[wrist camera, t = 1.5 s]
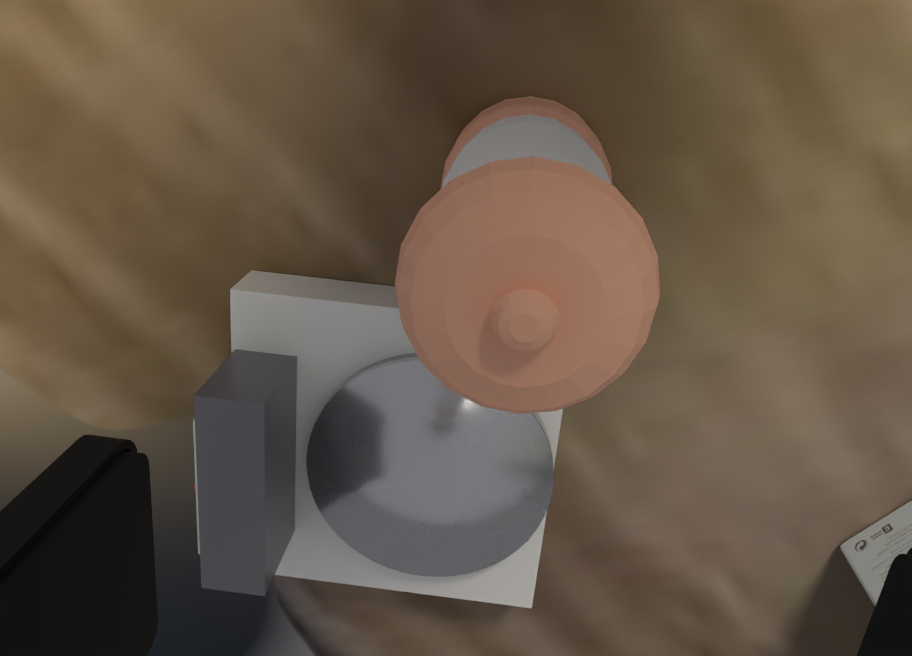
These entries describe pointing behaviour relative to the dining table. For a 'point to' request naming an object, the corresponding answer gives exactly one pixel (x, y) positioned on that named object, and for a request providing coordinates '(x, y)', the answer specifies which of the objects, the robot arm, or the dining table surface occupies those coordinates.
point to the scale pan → (426, 472)
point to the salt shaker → (527, 264)
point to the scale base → (305, 443)
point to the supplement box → (879, 549)
